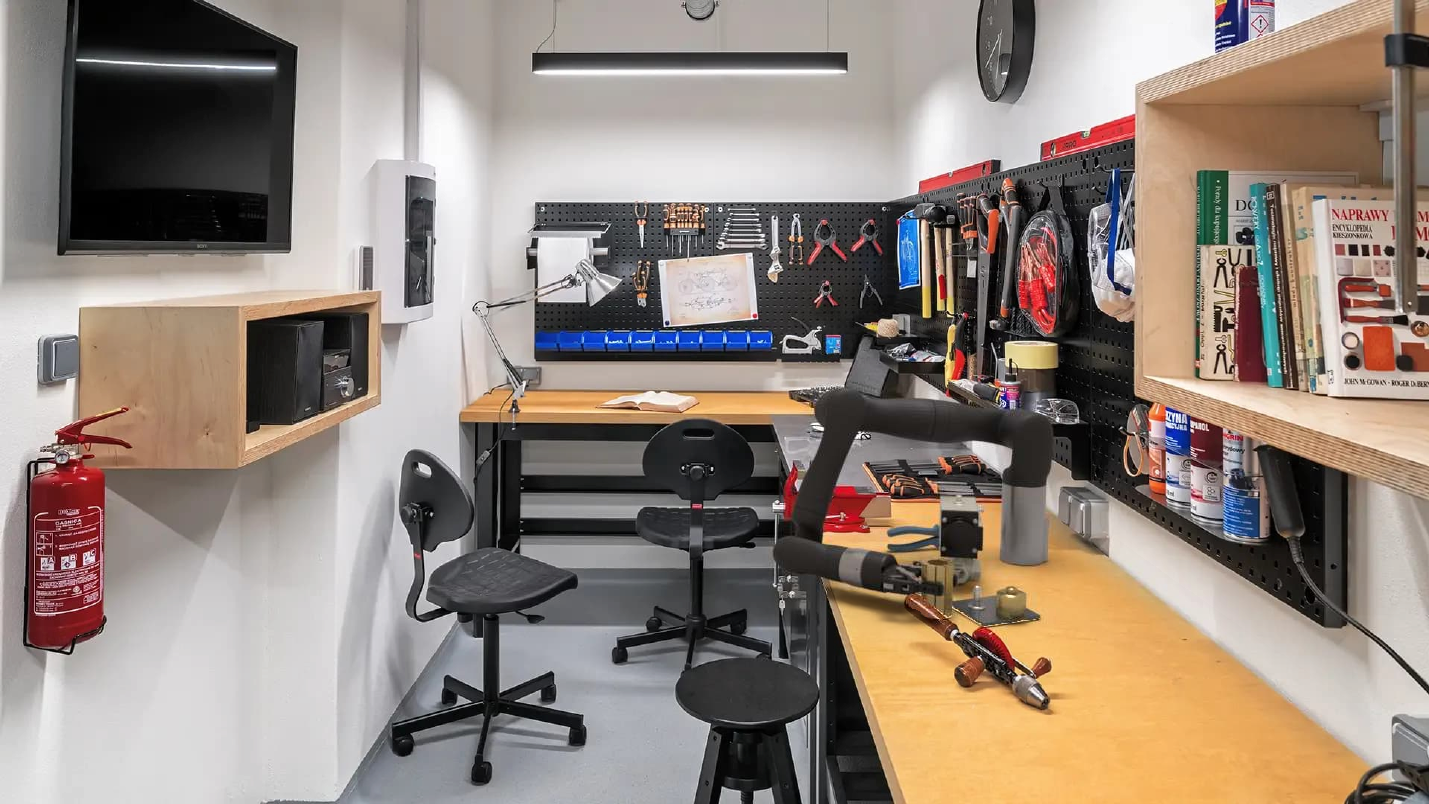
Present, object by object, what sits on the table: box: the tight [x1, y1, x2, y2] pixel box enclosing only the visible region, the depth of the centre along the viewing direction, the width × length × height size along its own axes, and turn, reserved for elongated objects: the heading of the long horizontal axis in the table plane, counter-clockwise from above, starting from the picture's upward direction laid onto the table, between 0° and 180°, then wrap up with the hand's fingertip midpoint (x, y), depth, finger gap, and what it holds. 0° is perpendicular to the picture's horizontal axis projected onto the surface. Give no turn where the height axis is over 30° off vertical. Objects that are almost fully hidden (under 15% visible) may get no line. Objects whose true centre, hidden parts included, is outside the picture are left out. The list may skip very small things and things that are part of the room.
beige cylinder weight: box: [996, 585, 1027, 620], centre depth 172 cm, size 5×5×5 cm
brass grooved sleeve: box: [920, 557, 954, 617], centre depth 174 cm, size 6×6×10 cm
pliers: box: [886, 523, 940, 553], centre depth 216 cm, size 20×2×6 cm, turn 99°
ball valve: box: [939, 494, 985, 584], centre depth 194 cm, size 18×8×18 cm, turn 168°
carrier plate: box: [952, 585, 1042, 627], centre depth 175 cm, size 12×12×5 cm
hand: (949, 585), depth 173 cm, fingers closed on brass grooved sleeve, 5 cm apart
